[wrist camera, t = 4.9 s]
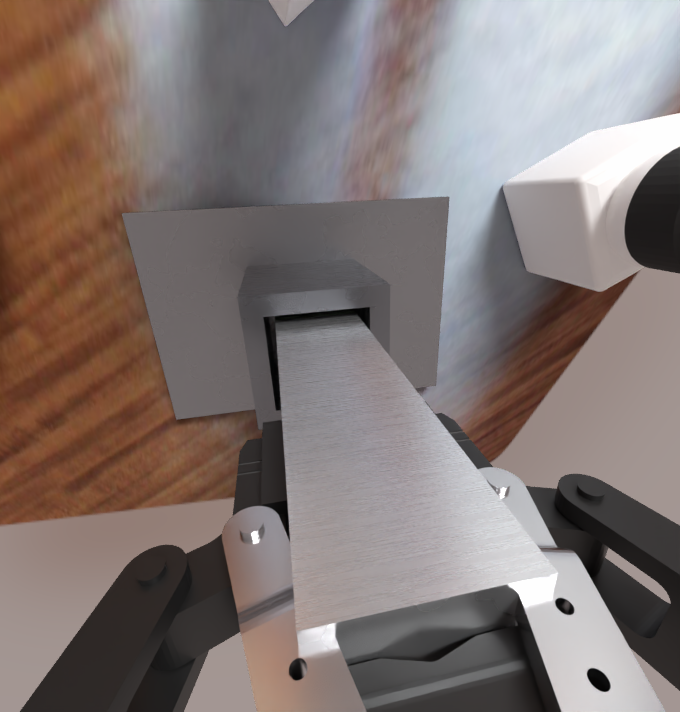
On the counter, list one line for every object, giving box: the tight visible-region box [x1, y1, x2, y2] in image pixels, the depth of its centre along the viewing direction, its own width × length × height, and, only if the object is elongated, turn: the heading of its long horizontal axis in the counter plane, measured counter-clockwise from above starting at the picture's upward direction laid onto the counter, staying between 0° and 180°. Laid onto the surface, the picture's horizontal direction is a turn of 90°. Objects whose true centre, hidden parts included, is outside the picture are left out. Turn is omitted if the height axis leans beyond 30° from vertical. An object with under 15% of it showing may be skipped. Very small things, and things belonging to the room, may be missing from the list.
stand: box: [122, 197, 449, 430], centre depth 22 cm, size 20×14×10 cm
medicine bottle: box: [503, 113, 680, 292], centre depth 21 cm, size 7×7×12 cm
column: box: [275, 309, 558, 666], centre depth 14 cm, size 4×4×18 cm
